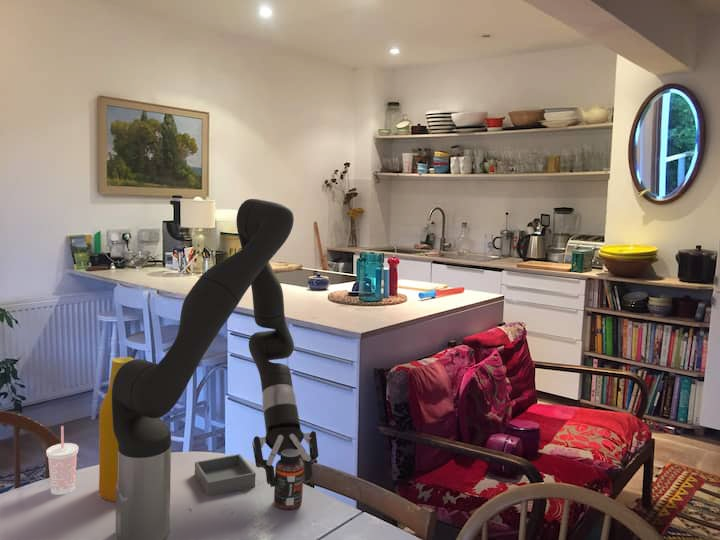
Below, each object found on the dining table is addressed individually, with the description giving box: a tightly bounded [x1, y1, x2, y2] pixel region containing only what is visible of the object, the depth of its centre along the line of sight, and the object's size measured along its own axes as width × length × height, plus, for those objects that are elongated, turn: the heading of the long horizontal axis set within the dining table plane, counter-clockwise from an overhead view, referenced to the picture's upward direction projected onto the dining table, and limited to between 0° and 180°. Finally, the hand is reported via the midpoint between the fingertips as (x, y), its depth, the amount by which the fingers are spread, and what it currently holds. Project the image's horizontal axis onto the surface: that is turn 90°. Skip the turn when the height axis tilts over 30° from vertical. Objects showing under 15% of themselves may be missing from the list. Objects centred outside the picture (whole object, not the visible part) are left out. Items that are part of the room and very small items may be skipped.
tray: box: [194, 453, 257, 497], centre depth 134 cm, size 11×11×3 cm
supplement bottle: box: [273, 449, 304, 510], centre depth 126 cm, size 6×6×11 cm
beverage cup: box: [46, 425, 79, 495], centre depth 126 cm, size 6×6×14 cm
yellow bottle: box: [98, 356, 135, 502], centre depth 125 cm, size 9×9×29 cm
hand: (290, 483), depth 124 cm, fingers open, 7 cm apart
